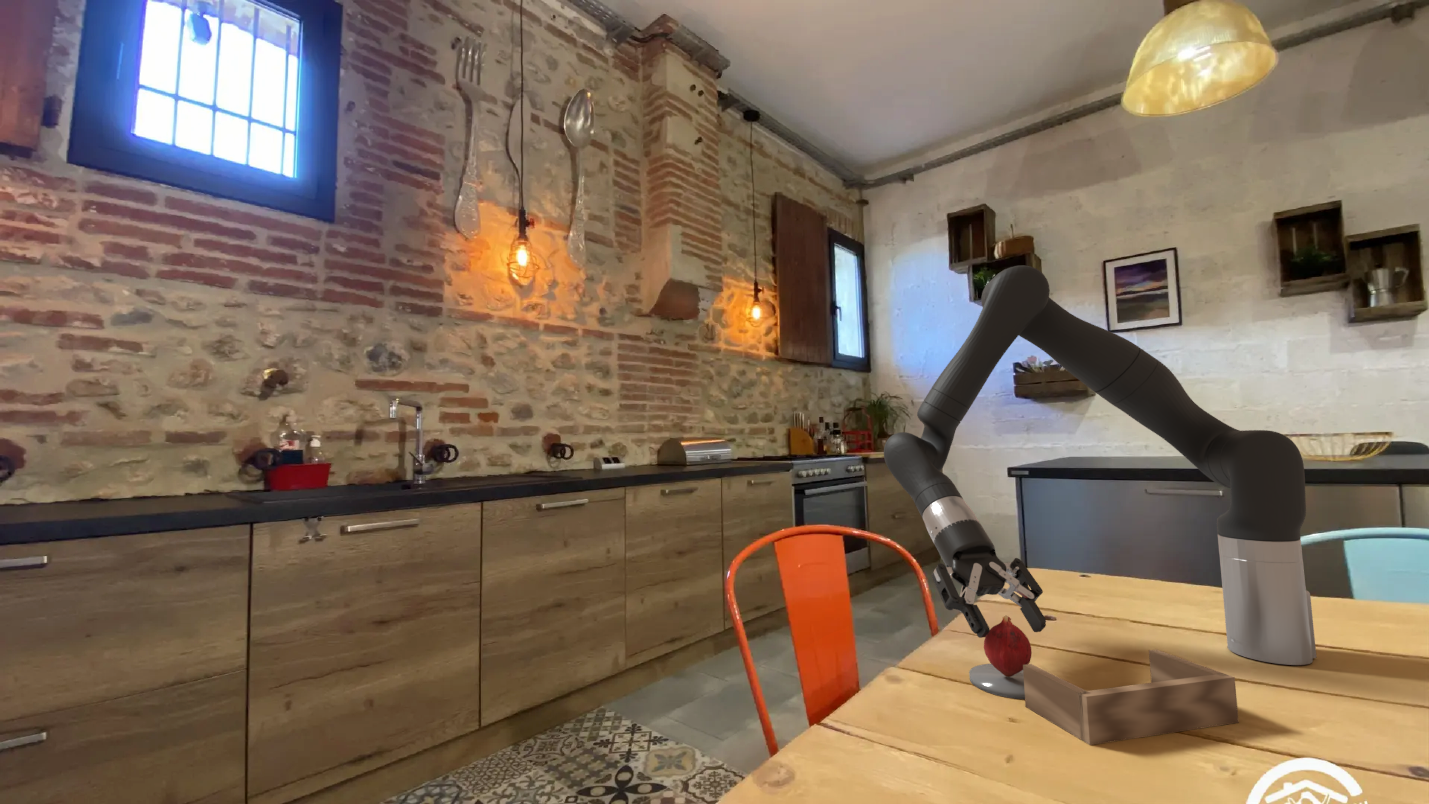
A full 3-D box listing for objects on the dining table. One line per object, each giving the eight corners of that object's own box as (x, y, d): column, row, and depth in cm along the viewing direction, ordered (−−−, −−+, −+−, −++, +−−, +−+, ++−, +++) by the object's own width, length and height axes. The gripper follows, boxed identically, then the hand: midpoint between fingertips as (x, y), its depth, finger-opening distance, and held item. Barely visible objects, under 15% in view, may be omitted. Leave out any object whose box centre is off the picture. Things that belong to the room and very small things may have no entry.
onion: (1038, 687, 76) (1037, 625, 77) (991, 684, 77) (990, 622, 78) (1023, 669, 82) (1022, 611, 82) (979, 666, 83) (978, 608, 83)
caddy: (1159, 689, 77) (1156, 649, 77) (1238, 722, 67) (1234, 677, 68) (1025, 706, 72) (1022, 664, 73) (1089, 744, 63) (1086, 696, 63)
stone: (1016, 666, 85) (1015, 660, 85) (1070, 694, 76) (1070, 687, 76) (954, 673, 83) (954, 667, 83) (1002, 703, 74) (1002, 696, 74)
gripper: (923, 520, 87) (977, 622, 75) (1008, 515, 90) (1073, 612, 78) (906, 550, 92) (954, 651, 80) (987, 545, 95) (1045, 641, 83)
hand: (1013, 631), depth 79 cm, fingers open, 8 cm apart
